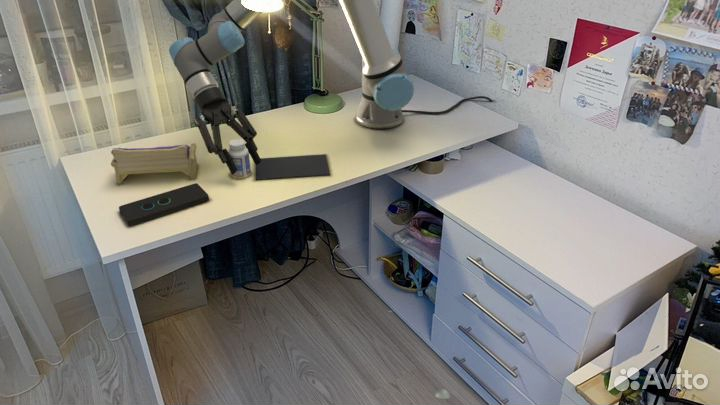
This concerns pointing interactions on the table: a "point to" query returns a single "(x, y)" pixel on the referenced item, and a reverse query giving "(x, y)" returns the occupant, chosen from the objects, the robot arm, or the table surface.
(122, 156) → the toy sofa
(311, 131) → the table surface
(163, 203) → the smart home device
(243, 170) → the pill bottle
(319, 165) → the mat
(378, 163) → the table surface
